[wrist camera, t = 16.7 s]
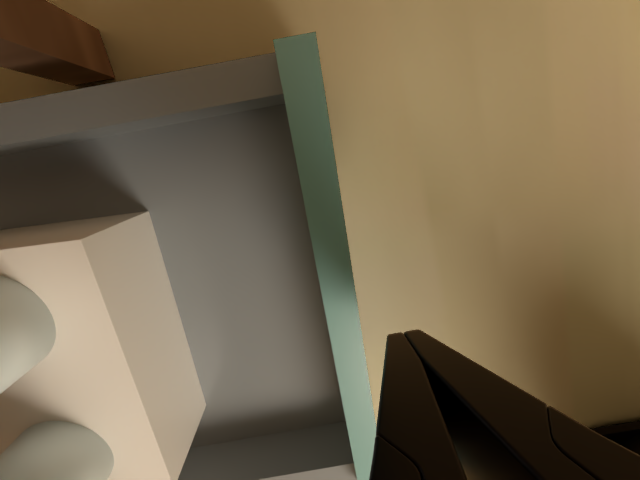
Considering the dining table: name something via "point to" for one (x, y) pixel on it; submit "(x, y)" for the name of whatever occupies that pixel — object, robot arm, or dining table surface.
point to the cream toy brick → (92, 355)
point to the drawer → (223, 244)
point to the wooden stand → (51, 43)
